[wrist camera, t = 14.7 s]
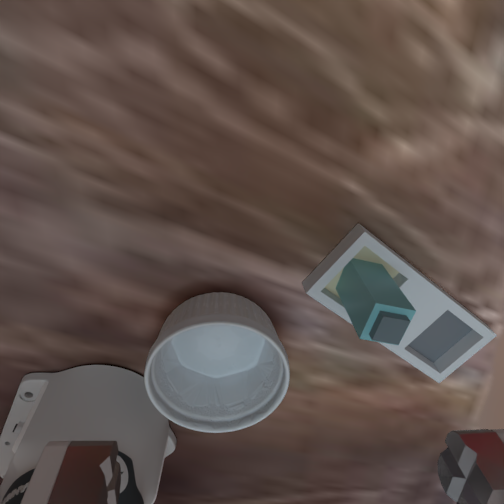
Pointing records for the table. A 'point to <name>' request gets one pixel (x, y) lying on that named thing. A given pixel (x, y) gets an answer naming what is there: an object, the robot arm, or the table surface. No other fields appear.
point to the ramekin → (217, 364)
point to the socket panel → (419, 295)
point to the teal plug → (374, 302)
